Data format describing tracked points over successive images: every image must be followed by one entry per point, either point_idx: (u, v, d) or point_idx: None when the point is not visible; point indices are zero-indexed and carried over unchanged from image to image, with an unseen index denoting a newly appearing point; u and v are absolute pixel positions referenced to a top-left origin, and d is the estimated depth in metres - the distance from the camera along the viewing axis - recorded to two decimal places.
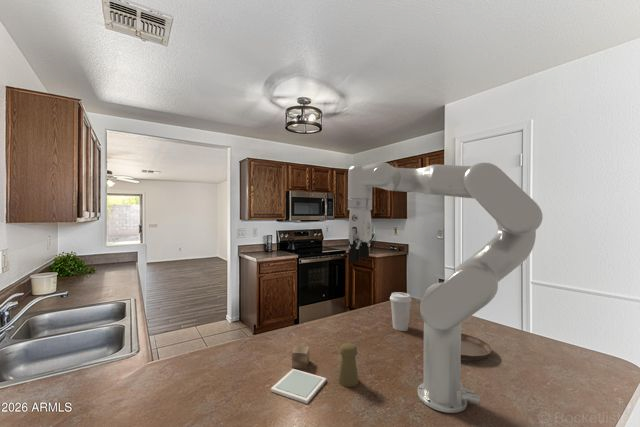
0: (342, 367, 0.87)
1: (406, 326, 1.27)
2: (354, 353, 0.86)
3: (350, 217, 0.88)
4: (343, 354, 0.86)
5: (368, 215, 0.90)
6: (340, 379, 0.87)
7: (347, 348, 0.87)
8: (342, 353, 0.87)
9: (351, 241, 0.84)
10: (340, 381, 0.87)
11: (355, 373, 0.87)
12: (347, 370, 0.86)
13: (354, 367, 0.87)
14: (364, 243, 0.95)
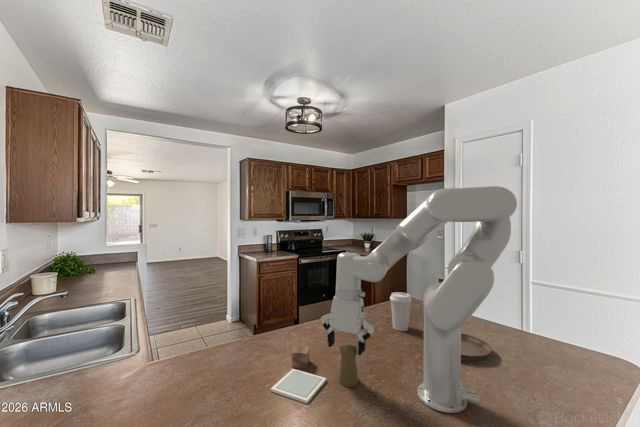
0: (342, 367, 0.87)
1: (406, 326, 1.27)
2: (354, 353, 0.86)
3: (360, 310, 0.85)
4: (343, 354, 0.86)
5: None
6: (340, 379, 0.87)
7: (347, 348, 0.87)
8: (342, 353, 0.87)
9: (371, 334, 0.85)
10: (340, 381, 0.87)
11: (355, 373, 0.87)
12: (347, 370, 0.86)
13: (354, 367, 0.87)
14: (332, 330, 0.91)
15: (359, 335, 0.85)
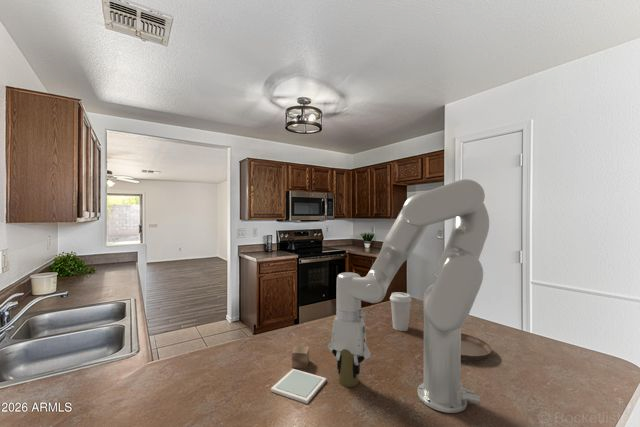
0: (342, 367, 0.87)
1: (406, 326, 1.27)
2: None
3: (361, 330, 0.85)
4: (343, 354, 0.86)
5: None
6: (340, 379, 0.87)
7: None
8: (342, 353, 0.87)
9: None
10: (340, 381, 0.87)
11: None
12: (347, 370, 0.86)
13: None
14: (341, 355, 0.90)
15: (355, 358, 0.86)
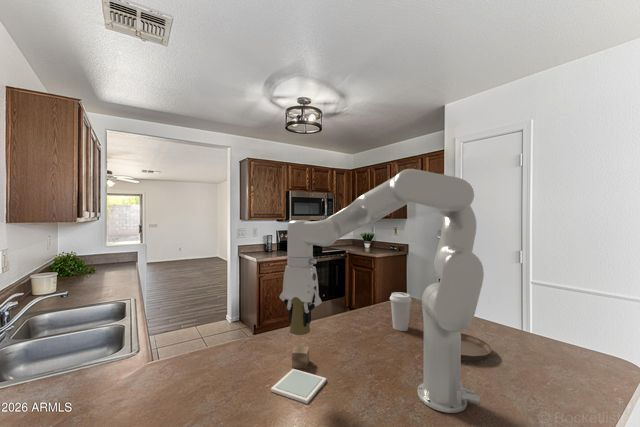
0: (293, 316, 0.84)
1: (406, 326, 1.27)
2: None
3: (311, 277, 0.82)
4: (293, 302, 0.84)
5: None
6: (291, 328, 0.84)
7: None
8: (292, 301, 0.84)
9: None
10: (291, 330, 0.84)
11: None
12: (297, 318, 0.83)
13: None
14: None
15: (306, 305, 0.83)
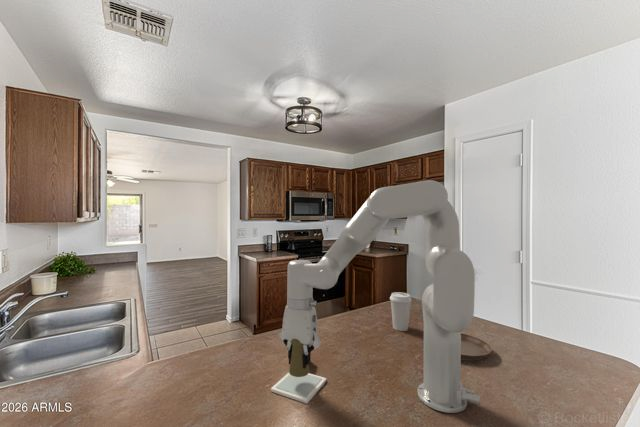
0: (292, 357, 0.84)
1: (406, 326, 1.27)
2: None
3: (310, 319, 0.82)
4: (293, 343, 0.84)
5: None
6: (290, 369, 0.84)
7: None
8: (292, 342, 0.84)
9: (315, 348, 0.83)
10: (290, 371, 0.84)
11: None
12: (297, 360, 0.83)
13: None
14: None
15: (305, 347, 0.83)
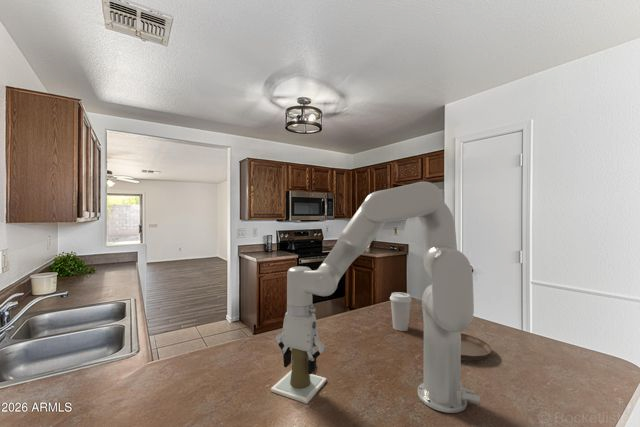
0: (293, 368, 0.84)
1: (406, 326, 1.27)
2: (305, 354, 0.84)
3: (310, 326, 0.82)
4: (294, 355, 0.84)
5: None
6: (291, 381, 0.84)
7: None
8: (292, 354, 0.84)
9: (321, 352, 0.82)
10: (291, 383, 0.84)
11: (306, 374, 0.84)
12: (298, 372, 0.83)
13: (305, 368, 0.84)
14: (287, 349, 0.88)
15: (309, 353, 0.83)
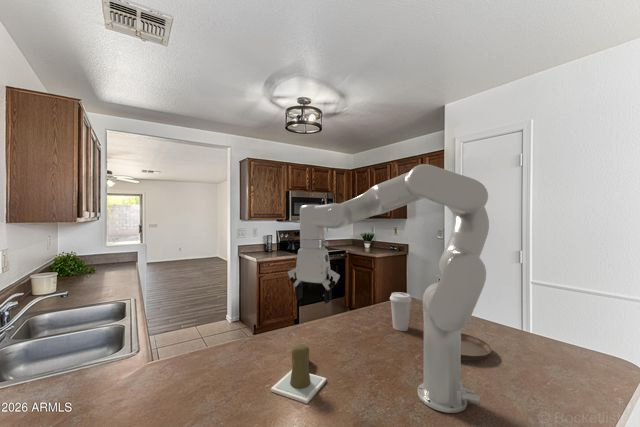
0: (293, 368, 0.84)
1: (406, 326, 1.27)
2: (305, 354, 0.84)
3: (324, 258, 0.86)
4: (294, 355, 0.84)
5: None
6: (291, 381, 0.84)
7: (298, 348, 0.84)
8: (293, 354, 0.84)
9: (336, 281, 0.86)
10: (291, 383, 0.84)
11: (306, 374, 0.84)
12: (298, 371, 0.83)
13: (305, 368, 0.84)
14: (299, 283, 0.91)
15: (324, 283, 0.86)
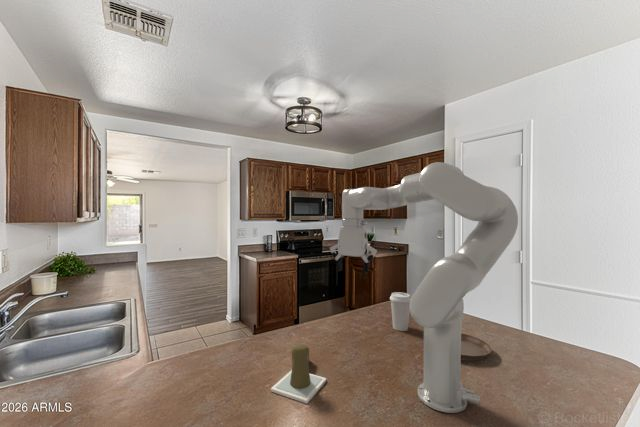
0: (293, 368, 0.84)
1: (406, 326, 1.27)
2: (305, 354, 0.84)
3: (363, 235, 0.99)
4: (294, 355, 0.84)
5: None
6: (291, 381, 0.84)
7: (298, 348, 0.84)
8: (293, 354, 0.84)
9: (374, 255, 0.99)
10: (291, 383, 0.84)
11: (306, 374, 0.84)
12: (298, 371, 0.83)
13: (305, 368, 0.84)
14: (340, 258, 1.05)
15: (363, 257, 0.99)
